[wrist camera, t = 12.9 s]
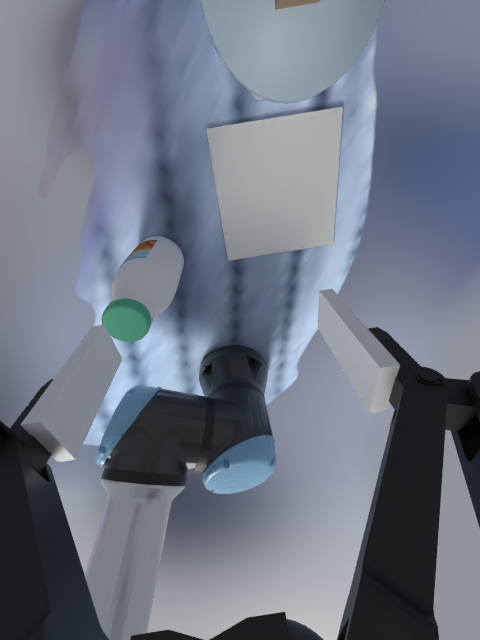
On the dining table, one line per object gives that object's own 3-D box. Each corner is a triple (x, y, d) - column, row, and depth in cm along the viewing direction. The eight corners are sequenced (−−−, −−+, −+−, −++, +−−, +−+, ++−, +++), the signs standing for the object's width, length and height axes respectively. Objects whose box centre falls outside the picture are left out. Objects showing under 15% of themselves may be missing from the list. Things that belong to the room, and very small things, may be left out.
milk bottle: (179, 232, 40) (153, 286, 23) (188, 277, 44) (171, 350, 27) (130, 237, 40) (68, 295, 23) (144, 282, 44) (100, 358, 27)
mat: (331, 243, 43) (333, 244, 42) (227, 259, 43) (228, 261, 42) (341, 107, 33) (342, 106, 32) (206, 129, 33) (206, 128, 33)
